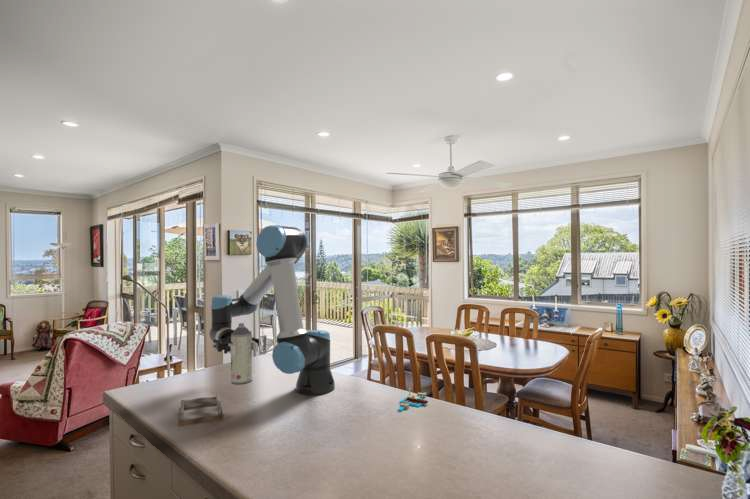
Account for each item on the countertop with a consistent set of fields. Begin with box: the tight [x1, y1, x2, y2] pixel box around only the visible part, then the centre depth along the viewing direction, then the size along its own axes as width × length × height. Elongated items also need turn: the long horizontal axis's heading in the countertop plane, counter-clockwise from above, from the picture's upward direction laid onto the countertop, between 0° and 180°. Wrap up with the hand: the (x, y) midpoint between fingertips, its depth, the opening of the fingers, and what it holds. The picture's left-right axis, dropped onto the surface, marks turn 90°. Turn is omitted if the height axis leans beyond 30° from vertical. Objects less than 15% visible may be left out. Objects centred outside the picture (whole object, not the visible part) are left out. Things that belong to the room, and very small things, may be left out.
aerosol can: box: [230, 322, 253, 386], centre depth 139 cm, size 7×7×20 cm
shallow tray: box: [177, 394, 224, 427], centre depth 133 cm, size 13×13×4 cm
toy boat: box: [397, 387, 429, 413], centre depth 144 cm, size 20×5×9 cm
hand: (245, 349), depth 135 cm, fingers closed on aerosol can, 7 cm apart
